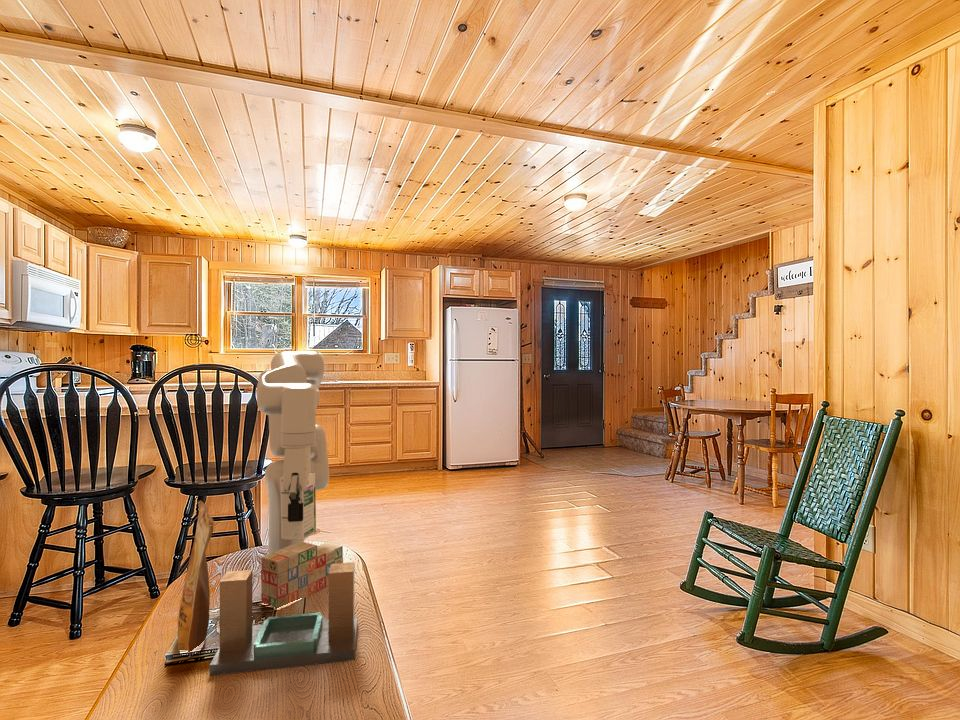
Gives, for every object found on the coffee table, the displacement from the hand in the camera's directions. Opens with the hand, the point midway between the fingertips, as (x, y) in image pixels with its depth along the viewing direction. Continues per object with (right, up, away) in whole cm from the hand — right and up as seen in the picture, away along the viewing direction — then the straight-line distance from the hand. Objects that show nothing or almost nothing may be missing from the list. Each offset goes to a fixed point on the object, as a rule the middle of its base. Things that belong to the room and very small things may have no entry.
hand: (298, 515), depth 118 cm
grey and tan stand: (+2, -24, -11) cm, 27 cm away
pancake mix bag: (-20, -25, -7) cm, 32 cm away
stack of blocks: (-4, -25, +15) cm, 29 cm away
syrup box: (0, -5, 0) cm, 5 cm away
